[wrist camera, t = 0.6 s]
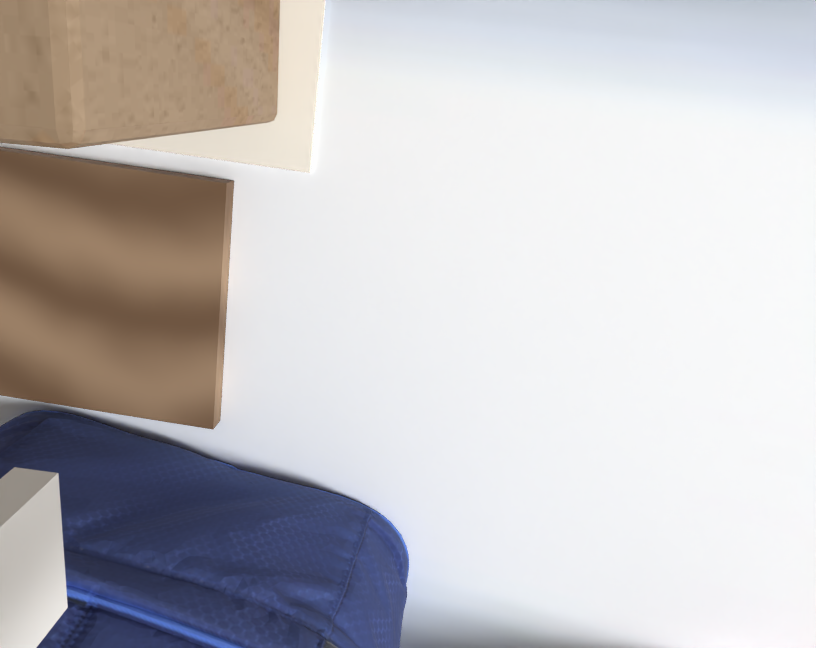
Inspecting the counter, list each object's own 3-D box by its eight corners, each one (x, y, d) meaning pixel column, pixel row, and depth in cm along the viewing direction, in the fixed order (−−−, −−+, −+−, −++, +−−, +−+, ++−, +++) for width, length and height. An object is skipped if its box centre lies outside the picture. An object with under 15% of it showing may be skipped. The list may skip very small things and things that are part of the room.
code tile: (44, -170, 34) (41, -171, 34) (337, -133, 34) (336, -134, 34) (50, 134, 39) (47, 134, 38) (310, 172, 38) (309, 173, 38)
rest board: (-22, 143, 39) (-37, 145, 38) (233, 180, 39) (226, 183, 37) (-11, 383, 43) (-24, 391, 42) (220, 420, 43) (213, 429, 42)
